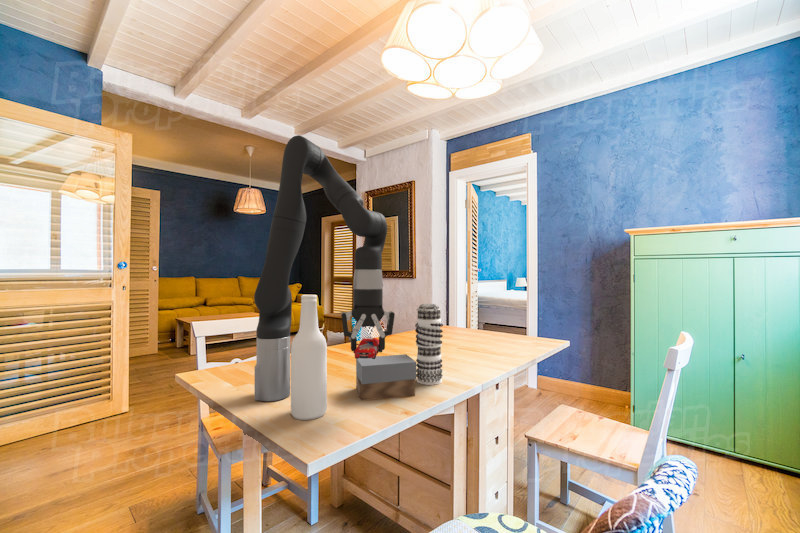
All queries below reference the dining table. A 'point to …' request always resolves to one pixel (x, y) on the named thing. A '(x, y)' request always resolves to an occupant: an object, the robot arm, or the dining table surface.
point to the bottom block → (385, 389)
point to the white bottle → (308, 365)
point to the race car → (367, 348)
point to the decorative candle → (429, 345)
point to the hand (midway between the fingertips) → (367, 352)
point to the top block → (385, 369)
